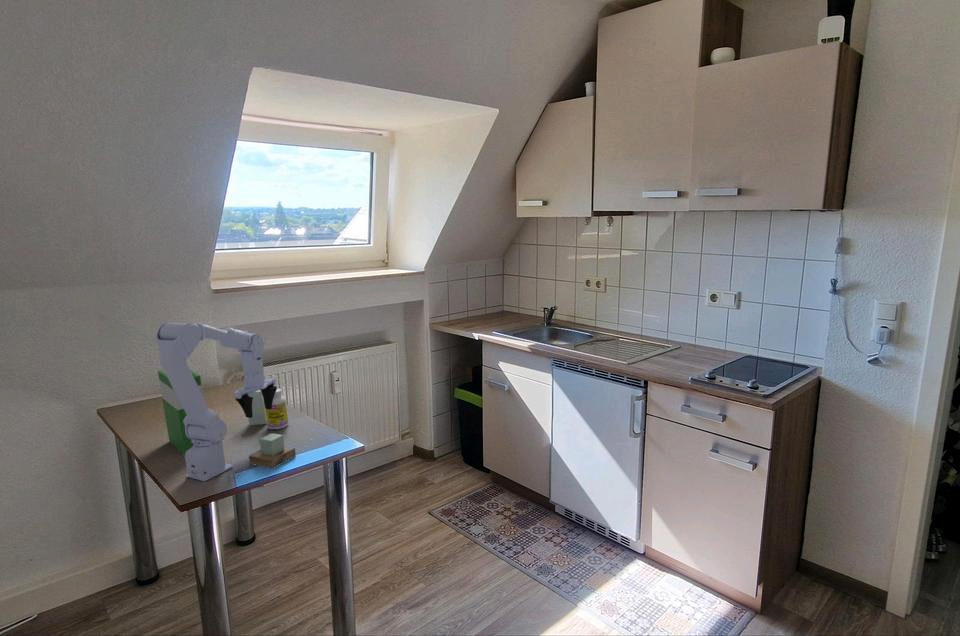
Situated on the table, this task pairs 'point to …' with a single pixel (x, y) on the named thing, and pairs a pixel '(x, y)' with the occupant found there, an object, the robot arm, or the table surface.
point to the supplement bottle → (277, 412)
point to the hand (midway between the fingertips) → (259, 413)
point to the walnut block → (272, 457)
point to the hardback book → (175, 413)
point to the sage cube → (272, 444)
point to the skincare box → (258, 409)
